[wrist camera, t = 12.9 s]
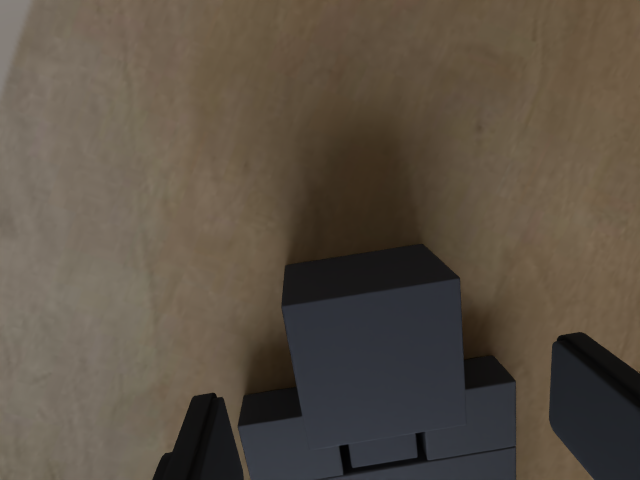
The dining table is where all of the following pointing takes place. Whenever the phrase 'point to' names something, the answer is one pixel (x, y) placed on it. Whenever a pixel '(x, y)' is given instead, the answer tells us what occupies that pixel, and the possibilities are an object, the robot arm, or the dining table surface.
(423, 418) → the pad
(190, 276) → the dining table surface
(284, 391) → the base pad
